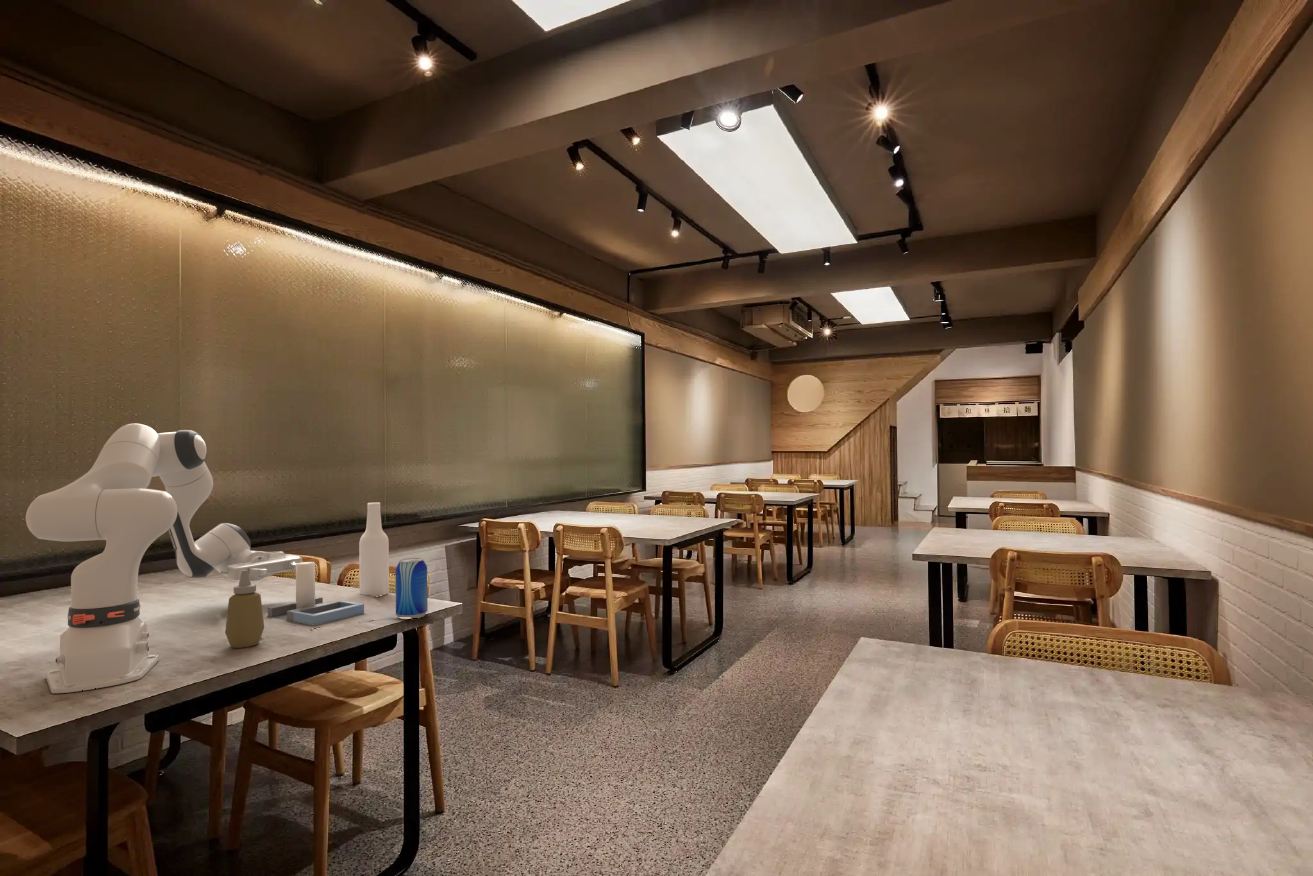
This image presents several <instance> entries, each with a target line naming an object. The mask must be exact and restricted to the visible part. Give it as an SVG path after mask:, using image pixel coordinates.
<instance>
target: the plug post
mask: <svg viewBox="0 0 1313 876" xmlns="http://www.w3.org/2000/svg"><path fill="white" fill-rule="evenodd" d="M315 597H316V563H315V561H305V562H304V561H302V563H297V564H296V570H295V602H296V609H298V608H303V607H307V606H312V605H315Z"/></svg>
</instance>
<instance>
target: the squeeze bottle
mask: <svg viewBox="0 0 1313 876" xmlns="http://www.w3.org/2000/svg"><path fill="white" fill-rule="evenodd" d="M262 603H263V602H262V596H261V594H260V593H258V592H257V584H255V583H252V581H250V577H249V573H248V570H243V571H242V573H241V577H240V580H239V581H238V584H237V585H235V586H233V595H231V596H229V598H228V605H227V613H226V623H225V631H224V633H225V636H226V639H227V641H228V643H229V645H230V647H231V648H234V649H235V648H236V649H240V648H241V649H242V648H243V647H244V648H249V647H253V646H255V645H258V644H259V643H260V641H261V637H262V635H263V632H264V629H265V622H264V613H263V605H262Z"/></svg>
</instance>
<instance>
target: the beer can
mask: <svg viewBox="0 0 1313 876" xmlns="http://www.w3.org/2000/svg"><path fill="white" fill-rule="evenodd" d="M394 571H395V572H394V573H395V574H394V575H395V583H394V584H395V615H396V616H397V617H411V618H418V619H422V618H424V617H425V616H426V614H427V612H428V610H429V609H428V608H429V607H428V565H427V564H426V562H425V559H424V557H408V558H406V557H405V558H402V559H399V560H398V564H397V565H396V567H395V569H394ZM421 617H422V618H421Z"/></svg>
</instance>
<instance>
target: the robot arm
mask: <svg viewBox="0 0 1313 876" xmlns="http://www.w3.org/2000/svg"><path fill="white" fill-rule="evenodd" d="M207 454H208V451H207V445H206V442H205V440H204V438H203V437H202V435H201V434H200V433H198V432H196V431H194V430H193V429H192V430H191V429H183V430H182V429H179V430H177V431H171V432H170V431H169V432H159V433H157V431H156V430H155V429H153V428H152V427H151V426H148V425H145V424H142V423H127V424H124V425H122V426H121V427H119V428H118V429H116V431H114V432H113V433H112V435H111V436H110V437H109V438H108V439H107V441H106V442H105V444H104V445H103V447H102V448H101V450H100V452H99V454H98V456H97V458H96V460H95V462H93V463H94V464H93V465H92V467H91V468H90V469H89V470H88V471H87V472H86V473H85V474H83V475H82V476H80V477H79V478H77V479H76V480H74V481H73V482H71V483H69V484H67V485H65V486H63V487H61V488H58V489H56V490H53V491H50V492H46V493H43V494H40V495H38V496H37V497H36V498H34V499H33V501H32V502H31V503H30V504H29V506H28V508H27V510H26V514H25V523H26V526H27V528H28V530H29V532H30V533H31V534H32V535H33V536H34V537H35V538H37V539H39V540H47V541H53V542H55V541H57V542H67V543H68V542H81V541H82V542H83V541H105V542H106V543H105V548H104V550H103V551H102V552H101V553H99V554H97V555H94V556H92V557H90V558H87V559H86V560H83V561H82V562H81V563H79V564H78V565H77V566H75V568H74V569H73V571H72V573H71V576H70V607H68V613H67V626H68V628H67V629H66V630H65V631H63V632H62V633H61V634H60V635H59V656H57V657H56V658H55V663H56V665H58V664H59V668H55V669H52V670H49V671H46V673H45V679H47V680H46V682H47V685H48V687H49V690H50V692H51V694H64V693H74V692H82V690H83V691H89V690H94V689H95V688H96V689H100V688H106V687H112V686H117V685H122V684H126V683H129V682H134V681H137V680H140V679H142V678H143V677H144V676H145V675H146V674H147V673H148V672H149V671H150V670H151V669H152V668H153V667H154V666H155V664H157V663H158V662H159V660H160V656H159V654H150V651H149V650H150V645H149V637H150V636H149V635H150V633H149V624H148V623H147V622H146V621H144V620H142V619H141V618H140V614H141V604H140V599H139V598H138V581H139V580H138V579H139V572H140V571H139V569H140V565H141V562H142V559H143V557H144V554H145V552H146V551H147V550H148V548H149V547H150V546H151V544H153V543H154V541H156V540H157V539H158V538H159V537H161V536H162V535H163V534H165V533H166V532H167V533H168V535H169V539H170V541H171V546H172V547H173V550H174V551H173V552H174V556H175V563H176V565H177V568H178V569H179V571H180V572H181V573H182V574H183V575H184V576H186V577H187V578H190V579H191V578H192V579H200V578H206V577H207V576H208V575H210V574H211V573H212V572H213V571H214V570H216V571H217V572H218V573H220V575H221V574H222V575H224V576H225V577H226V578H227V579H229V580H233V581H238V580H239V581H240V577H241V573H242V571H243V570H248V573H249V577H250V581H251V582H257V581H261V580H262V579H265V578H267V577H270V576H272V575H277V574H281V573H285V572H289V571H290V572H291V571H296V564H297V563H302V562H303V558H302V556H301V555H300V556H299V555H295V554H291V553H285V552H284V551H263V550H262V551H261V550H260V551H259V550H251V548H252V546H251V540H250V538H249V536H248V535H247V532H246V531H244V529H243V528H242V527H240V526H238V525H235V524H232V523H228V522H227V523H226V522H221V523H219V524H218V525H217V526H215V527H213V528H212V529H211V530H208V532H206V533H205V534H204V535H202V536H201V537H200V538H198V539H196V540H194V537H193V534H192V531H191V528H190V522H191V520H192V518H193V516H194V515H195V513H196V512H197V511H198V509H199V508H200V507H201V506H202V504H204V502H205V501H206V500H207V499H208V498H209V496H210V495H211V492H212V491H213V488H214V479H213V476H212V474H211V471H210V470H209V468H208V465H207V464H206V462H205V461H206V459H207V457H208V455H207ZM153 477H159V478H160V480H161V482H162V483H163V485H164V489H165V490H158V489H154V488H149V485H150V483H151V481H152V478H153ZM157 661H158V662H157Z"/></svg>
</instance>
